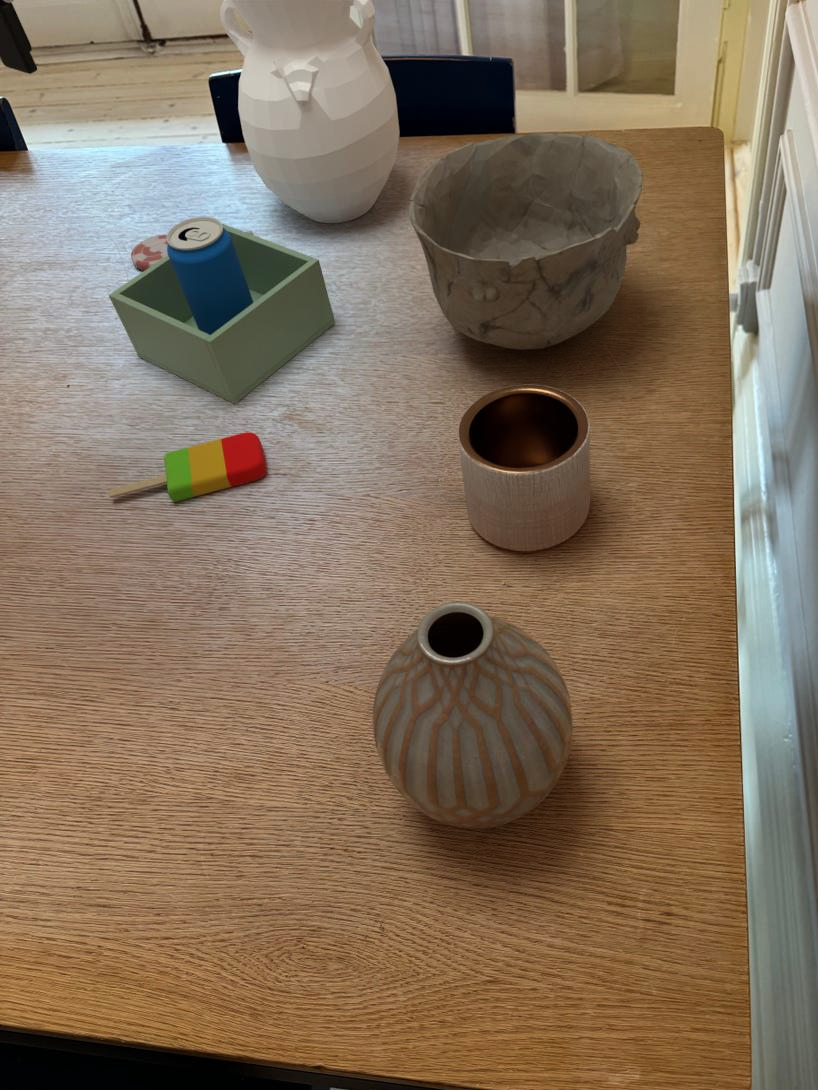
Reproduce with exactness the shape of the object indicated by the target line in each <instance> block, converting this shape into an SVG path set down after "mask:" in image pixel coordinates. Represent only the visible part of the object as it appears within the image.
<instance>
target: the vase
mask: <svg viewBox="0 0 818 1090" xmlns="http://www.w3.org/2000/svg"><path fill="white" fill-rule="evenodd" d="M372 731H373V737H374V742H375V747H376V750H377V754H378V757H379V760H380V762H381V765H382V767H383V769H384V772H385V773H386V775H387V777H388V779H389V781H390V782H391V784H392V785H393V787H394V788H395V789H396V791H397V792H398V793H399V794H400V796H401V797H402V798H403V799H404V800H405V801H406V802H407V803H408V804H409V805H411V806H412V807H413V808H414V809H416V810H417V811H418V812H420V813H422V814H423V815H425V816H426V817H428V818H431V819H432V820H435V821H437V822H439V823H442V824H444V825H447V826H451V827H455V828H456V827H457V828H460V829H461V828H462V829H469V830H470V829H474V830H477V829H479V830H480V829H481V830H482V829H490V828H494V827H500V826H503V825H506V824H509V823H512V822H513V821H516V820H517V819H519V818H522V817H524V816H525V815H526V814H528V813H529V812H531V811H532V810H534V809H535V808H536V807H538V806H539V805H540V804H541V803H542V802H543V801H544V800H545V799H546V798H547V797H548V796H549V794H550V793H551V792H552V791H553V789H554V788H555V786H556V785H557V783H558V782H559V780H560V778H561V777H562V775H563V773H564V771H565V769H566V766H567V764H568V761H569V760H568V759H569V757H570V753H571V748H572V743H573V732H574V720H573V709H572V704H571V697H570V693H569V689H568V687H567V684H566V682H565V679H564V677H563V674H562V672H561V670H560V669H559V667H558V665H557V663H556V662H555V661H554V659H553V658H552V656H551V655H550V654H549V653H548V652H547V650H546V649H545V648H544V646H543V645H541V643H540V642H538V641H537V640H536V639H535V638H534V637H533V636H532V635H530V634H529V633H528V632H526V631H525V630H524V629H522V628H521V627H519V626H517V625H515V624H513V623H511V622H509V621H507V620H504V619H502V618H500V617H498V616H493V615H489V614H488V613H487V611H486V610H484V609H483V608H482V607H480V606H478V605H476V604H473V603H470V602H465V601H451V602H445V603H442V604H440V605H438V606H436V607H434V608H432V609H431V610H430V611H428V612H427V613H426V614H425V615H424V617H423V618H422V619H421V620H420V622H419V623H418V626H417V628H416V630H415V631H414V632H412V633H411V634H410V635H409V636H408V637H407V638H406V639H405V640H403V642H402V643H401V644H400V645H399V646H398V647H397V648H396V650H395V651H394V652H393V654H392V655H391V656H390V658H389V660H388V662H387V663H386V666H385V667H384V669H383V672H382V673H381V676H380V678H379V681H378V684H377V687H376V691H375V695H374V699H373V708H372Z"/></svg>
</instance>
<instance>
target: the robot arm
mask: <svg viewBox="0 0 818 1090" xmlns="http://www.w3.org/2000/svg"><path fill="white" fill-rule="evenodd" d="M14 1H15V0H0V61H1V63H2V64H3V66H5V67H6V68H9V69H12V70H15V71H18V72H22V73H25V74H28V75H29V74H30V75H32V74H34V73H36V72H37V71H38V67H37V64H36V61H35V60H34V57H33V56H32V53H31V52H32V50H33V49H32V48H33V47H32V45H31V42H30V40H29V37H28V36H27V33H26V31H25V28H24V26H23V23H22V22H21V20H20V18H19V16H18V13H17V11H16V9H15V6H14V4H13V2H14Z"/></svg>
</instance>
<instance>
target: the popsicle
mask: <svg viewBox="0 0 818 1090" xmlns="http://www.w3.org/2000/svg"><path fill="white" fill-rule="evenodd" d="M163 459H164V467H165V469H164V470H165V474H164V475H159V476H155V477H152V478H151V477H150V478H147V479H144V480H141V481H137V482H132V483H129V484H125V485H122V486H121V485H120V486H118V487H114V488H111V489H109V490H108V491H107V495H108V497H109V498H111V499H114V498H118V497H122V496H125V495H128V494H132V493H133V494H134V493H136V492H140V491H144V490H148V489H151V488H155V487H159V486H164V485H166V487H167V494H168V496H169V498H170V500H171V502H173V503H176V502H180V501H184V500H188V499H190V498H195V497H199V496H202V495H206V494H210V493H213V492H217V491H222V490H224V489H229V488H232V487H235V486H240V485H243V484H247V483H251V482H254V481H257V480H260V479H262V478H263V477H264V476H265V475H266V474H267V462H266V457H265V452H264V448H263V445H262V442H261V440H260V437H259V436H258V435H257V434H256V433H255V432H251V431H249V432H242V433H237V434H234V435H230V436H227V437H222V438H219V439H215V440H211V441H208V442H204V443H199V444H196V445H192V446H188V447H185V448H181V449H177V450H173V451H170V452H166V453H165V454H164V456H163Z"/></svg>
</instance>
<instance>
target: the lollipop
mask: <svg viewBox="0 0 818 1090" xmlns="http://www.w3.org/2000/svg"><path fill="white" fill-rule="evenodd" d="M245 232H246V233H249V234H251V235H254V231H253V230H248V231H245ZM167 246H168V242H167V234H160V235H155V236H151V237H149V238H145V239H143V240H142V241H140V242H139V243H138V244H136V246H134V248H132V251H131V253H130V260H131V262H132V263H133V265H134V266H135V267H136V268H137V269H138V270H141V271H145V270H146V269H148V268H149V267H151V266H152V265H154V264H155V263H157V262H158V261H160V260H161V259H163V258H164V257H165V256H167V255H168V254H167Z"/></svg>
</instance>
